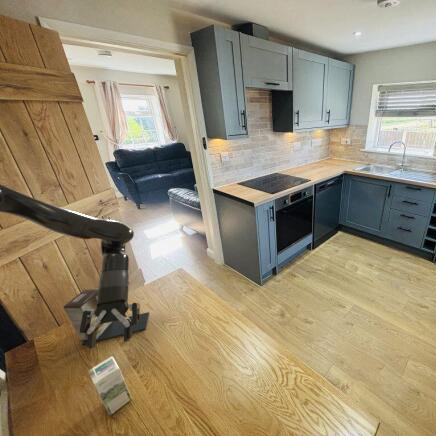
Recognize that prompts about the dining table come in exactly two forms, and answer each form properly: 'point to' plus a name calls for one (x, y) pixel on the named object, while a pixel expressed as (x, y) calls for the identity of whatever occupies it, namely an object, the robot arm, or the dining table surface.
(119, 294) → the robot arm
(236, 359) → the dining table surface
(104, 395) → the syrup box
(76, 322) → the coffee box
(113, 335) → the dark gray mat
